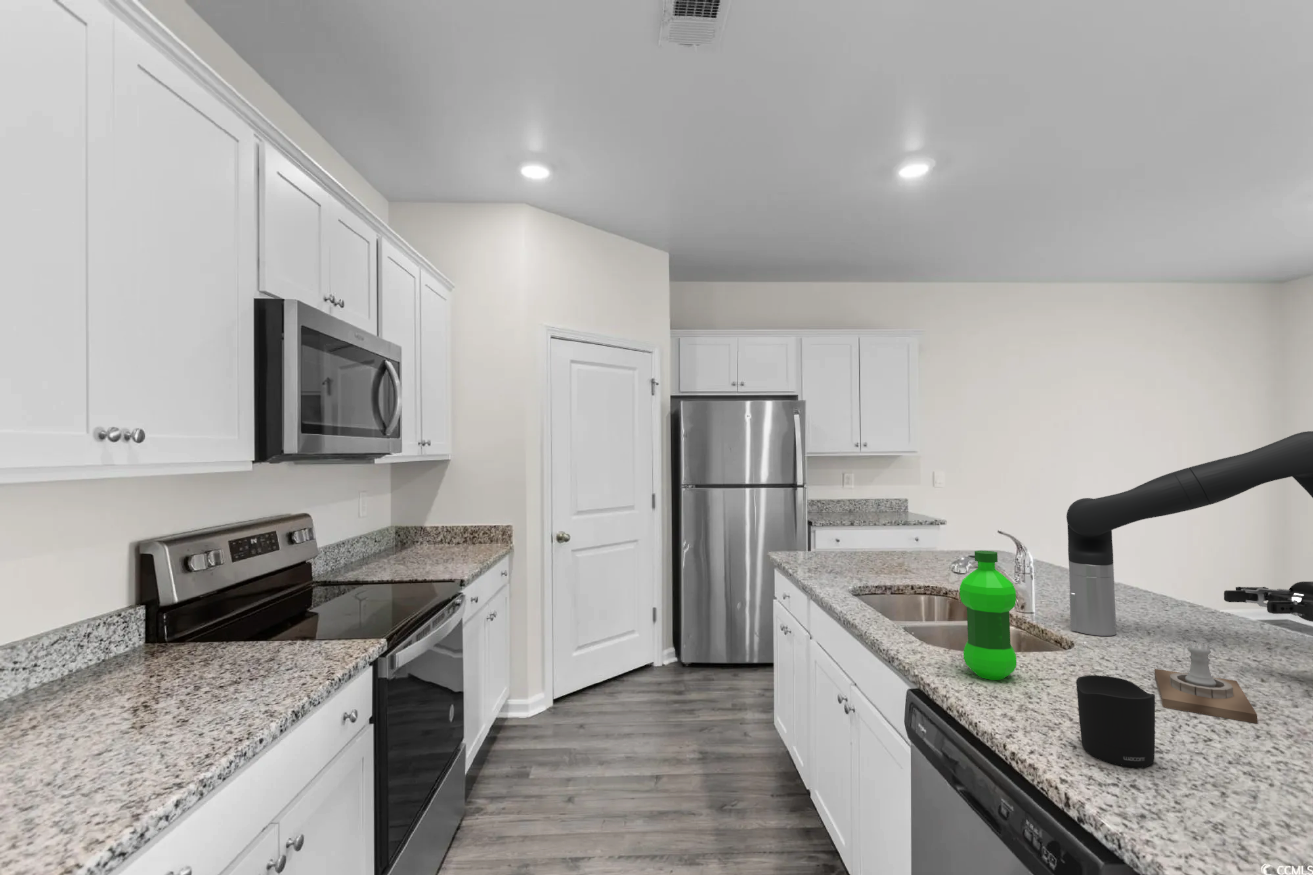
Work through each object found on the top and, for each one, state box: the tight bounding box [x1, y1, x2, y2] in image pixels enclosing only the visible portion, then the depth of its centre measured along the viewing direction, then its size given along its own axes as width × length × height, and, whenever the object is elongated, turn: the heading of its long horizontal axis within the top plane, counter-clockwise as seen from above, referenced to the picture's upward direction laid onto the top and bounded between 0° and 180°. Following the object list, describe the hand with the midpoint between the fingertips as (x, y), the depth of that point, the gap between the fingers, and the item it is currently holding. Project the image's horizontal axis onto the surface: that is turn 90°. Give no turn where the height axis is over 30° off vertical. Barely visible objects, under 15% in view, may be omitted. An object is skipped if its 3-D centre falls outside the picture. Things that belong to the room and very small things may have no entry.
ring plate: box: [1153, 668, 1258, 724], centre depth 110 cm, size 12×18×3 cm, turn 144°
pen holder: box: [1075, 674, 1156, 769], centre depth 91 cm, size 9×9×10 cm
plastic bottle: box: [959, 550, 1017, 681], centre depth 124 cm, size 10×10×25 cm
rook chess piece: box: [1185, 642, 1217, 688], centre depth 111 cm, size 4×4×8 cm
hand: (1246, 601), depth 116 cm, fingers open, 8 cm apart
